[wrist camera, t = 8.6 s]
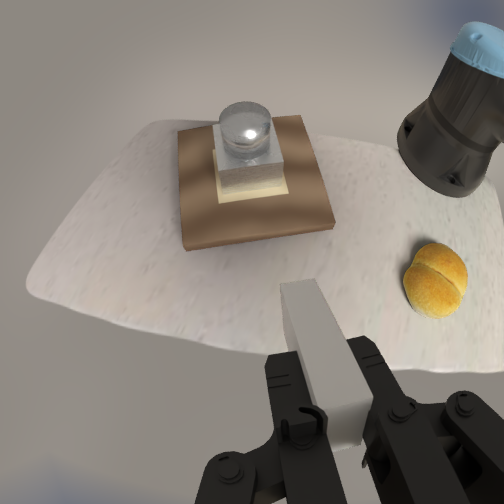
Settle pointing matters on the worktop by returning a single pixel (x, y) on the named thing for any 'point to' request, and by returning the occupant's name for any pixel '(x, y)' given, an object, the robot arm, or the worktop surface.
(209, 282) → the worktop surface
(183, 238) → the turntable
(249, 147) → the metal block with knob
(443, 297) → the bread roll
